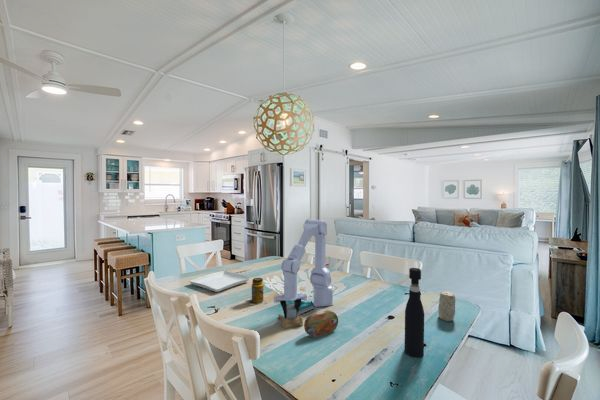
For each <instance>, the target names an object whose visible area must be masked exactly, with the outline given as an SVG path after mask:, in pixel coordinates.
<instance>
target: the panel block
mask: <svg viewBox="0 0 600 400" xmlns="http://www.w3.org/2000/svg"><path fill="white" fill-rule="evenodd" d="M286 304H287V303H286ZM286 314H287V317H286V319H294V318H296V308H295V306H294V303H289V304H287V308H286ZM283 318H285V317H284V316H283Z"/></svg>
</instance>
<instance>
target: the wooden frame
mask: <svg viewBox="0 0 600 400" xmlns="http://www.w3.org/2000/svg"><path fill="white" fill-rule="evenodd" d="M277 316H278V318H279V319H280V322H281V325H282V328H283V329H286V328H287V329H288V328H295V327H302V326H303V327H304V323H303V322H304V317H303V316H301V315H299V312H298V313H297V317H296V318H294V319H286V318H284V315H283V314H282V313H279V314H277Z"/></svg>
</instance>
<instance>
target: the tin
mask: <svg viewBox="0 0 600 400" xmlns="http://www.w3.org/2000/svg"><path fill="white" fill-rule="evenodd" d="M338 324H339V317H338V315H337V314H336V313H335V312H334V311H332V310H324V311H320V312H316V313H312V314H309V315H308V316H307V317H306V318H305V321H304V323H303V327H304V331H305V333H306V334H307V335H308V336H309V337H311V338H317V337H321V336H323V335H327V334H330V333H333V332H334V331H335V330H336V329H337V327H338Z"/></svg>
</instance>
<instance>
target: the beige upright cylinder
mask: <svg viewBox="0 0 600 400" xmlns="http://www.w3.org/2000/svg"><path fill="white" fill-rule="evenodd" d="M437 310H438V311H437V312H438V317H439V318H440V320H442V321H445V322H453V320H454V318H455V315H456V295H455V294H454V292H451V291H448V290H447V291H446V290H444V291H441V292H440V293H439V299H438V309H437Z"/></svg>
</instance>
